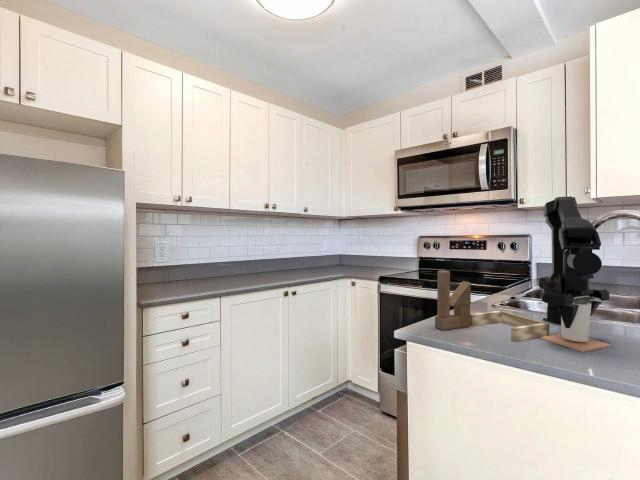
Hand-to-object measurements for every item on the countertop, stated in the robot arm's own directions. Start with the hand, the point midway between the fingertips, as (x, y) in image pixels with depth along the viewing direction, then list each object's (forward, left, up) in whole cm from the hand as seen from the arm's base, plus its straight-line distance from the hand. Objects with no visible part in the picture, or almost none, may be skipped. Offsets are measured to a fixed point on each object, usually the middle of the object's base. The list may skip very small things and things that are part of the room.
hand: (574, 327), depth 91 cm
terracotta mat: (0, 0, -4) cm, 4 cm away
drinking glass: (0, 0, -3) cm, 3 cm away
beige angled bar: (+8, -14, -4) cm, 17 cm away
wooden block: (+21, -23, -4) cm, 31 cm away
